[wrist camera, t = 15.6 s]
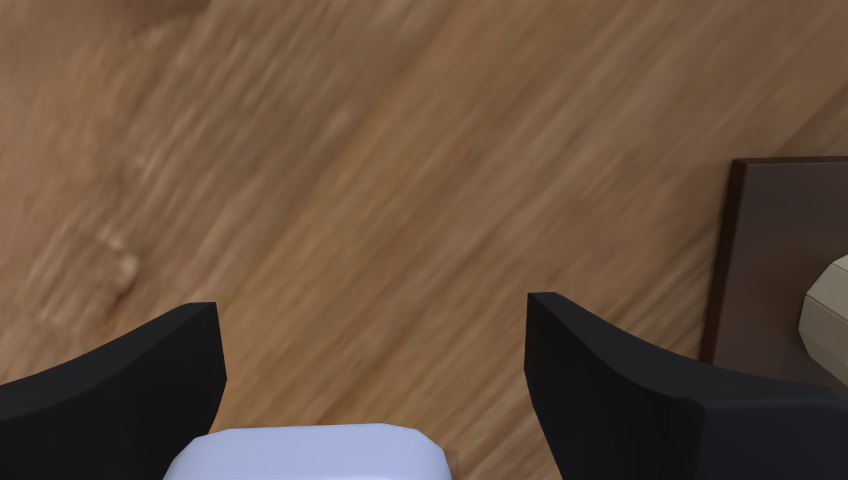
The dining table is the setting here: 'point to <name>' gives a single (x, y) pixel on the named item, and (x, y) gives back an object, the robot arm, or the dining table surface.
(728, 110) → the dining table surface
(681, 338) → the dining table surface
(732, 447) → the robot arm
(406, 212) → the dining table surface
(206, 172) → the dining table surface
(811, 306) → the cream ring
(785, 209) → the ring board
